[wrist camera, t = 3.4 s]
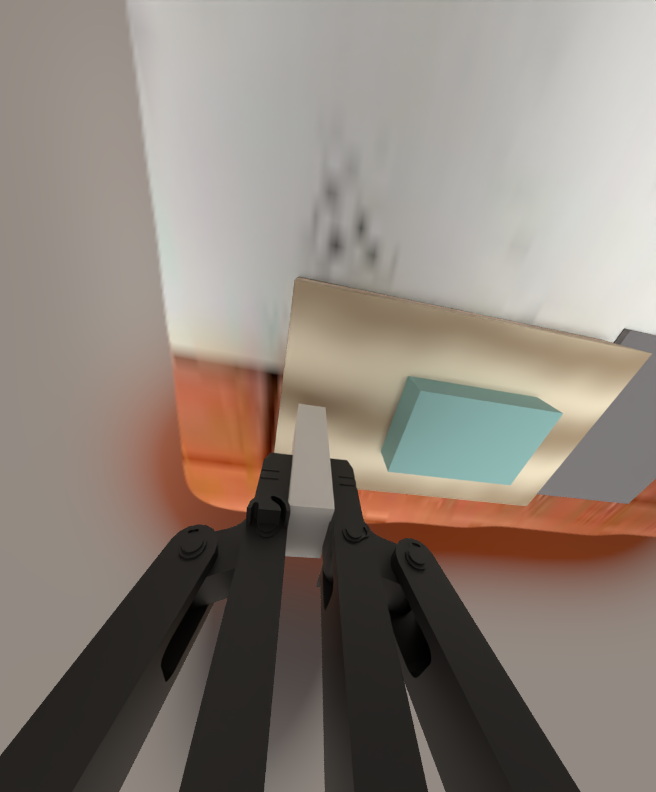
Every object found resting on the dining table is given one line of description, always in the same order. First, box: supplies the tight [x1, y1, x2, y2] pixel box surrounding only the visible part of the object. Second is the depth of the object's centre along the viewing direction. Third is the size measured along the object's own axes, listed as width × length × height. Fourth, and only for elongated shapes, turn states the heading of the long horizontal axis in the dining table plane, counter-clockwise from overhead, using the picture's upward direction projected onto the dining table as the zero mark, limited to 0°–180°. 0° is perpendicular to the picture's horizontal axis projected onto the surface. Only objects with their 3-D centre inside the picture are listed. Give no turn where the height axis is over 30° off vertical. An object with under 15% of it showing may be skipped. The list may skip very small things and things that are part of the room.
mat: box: [537, 329, 656, 504], centre depth 22 cm, size 16×14×1 cm
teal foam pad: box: [381, 376, 563, 485], centre depth 16 cm, size 9×6×2 cm, turn 79°
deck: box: [274, 277, 652, 506], centre depth 19 cm, size 14×22×3 cm, turn 79°
